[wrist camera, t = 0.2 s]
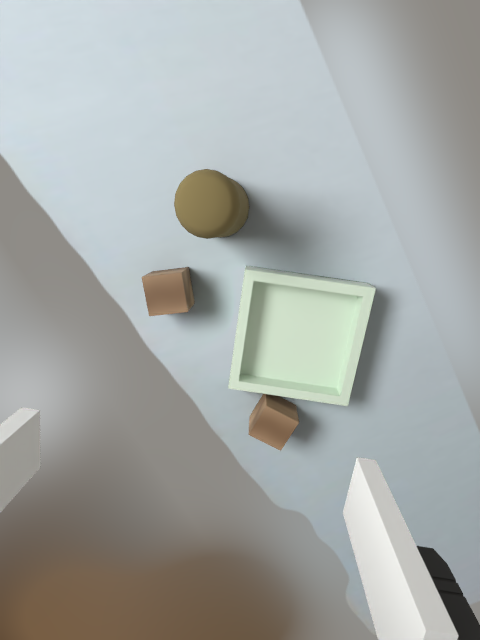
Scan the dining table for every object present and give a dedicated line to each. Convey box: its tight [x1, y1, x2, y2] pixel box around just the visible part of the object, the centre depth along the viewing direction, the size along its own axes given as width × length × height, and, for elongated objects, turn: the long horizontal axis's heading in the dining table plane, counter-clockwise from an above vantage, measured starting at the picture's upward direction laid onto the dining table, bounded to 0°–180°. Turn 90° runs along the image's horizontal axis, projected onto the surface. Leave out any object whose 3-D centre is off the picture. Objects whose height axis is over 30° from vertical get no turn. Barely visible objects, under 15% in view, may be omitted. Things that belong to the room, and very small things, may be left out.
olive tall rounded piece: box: [174, 169, 249, 239], centre depth 33 cm, size 6×6×11 cm
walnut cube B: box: [249, 394, 299, 451], centre depth 43 cm, size 4×4×4 cm
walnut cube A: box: [142, 267, 194, 316], centre depth 39 cm, size 4×4×4 cm
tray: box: [228, 266, 376, 406], centre depth 40 cm, size 13×13×3 cm
